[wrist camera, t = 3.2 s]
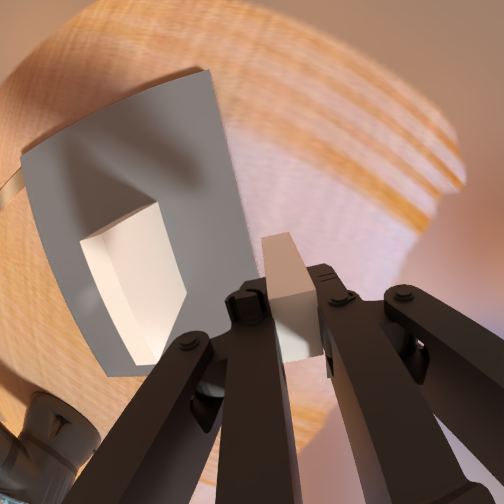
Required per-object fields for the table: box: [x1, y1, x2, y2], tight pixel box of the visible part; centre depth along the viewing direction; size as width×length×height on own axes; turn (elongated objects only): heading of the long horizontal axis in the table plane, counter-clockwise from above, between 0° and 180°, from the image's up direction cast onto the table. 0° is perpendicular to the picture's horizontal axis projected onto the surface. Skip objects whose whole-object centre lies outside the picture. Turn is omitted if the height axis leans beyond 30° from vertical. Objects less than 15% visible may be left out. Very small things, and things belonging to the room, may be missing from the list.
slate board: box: [20, 69, 260, 377], centre depth 23 cm, size 20×26×1 cm
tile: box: [80, 202, 187, 365], centre depth 18 cm, size 2×8×9 cm, turn 13°
